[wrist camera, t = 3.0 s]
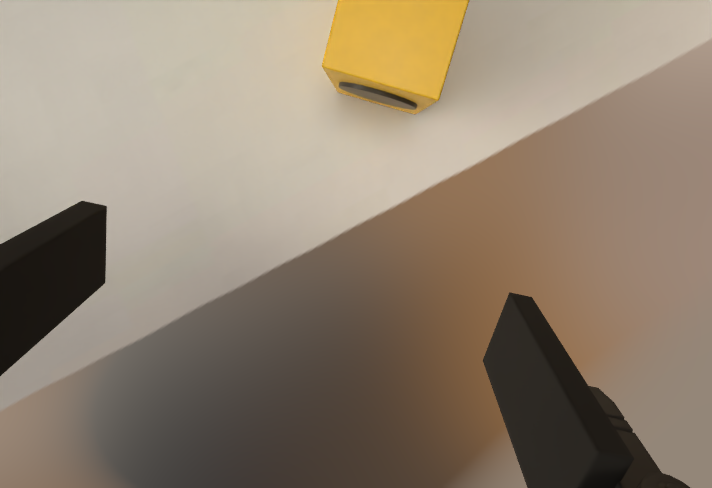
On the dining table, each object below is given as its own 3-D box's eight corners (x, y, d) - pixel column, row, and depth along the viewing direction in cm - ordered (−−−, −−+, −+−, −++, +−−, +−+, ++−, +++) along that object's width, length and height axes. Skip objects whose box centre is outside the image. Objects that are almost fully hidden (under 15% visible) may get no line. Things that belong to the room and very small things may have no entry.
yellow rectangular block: (336, 95, 35) (320, 72, 23) (364, -12, 34) (361, -95, 22) (414, 118, 35) (437, 106, 24) (446, 12, 34) (486, -57, 22)
